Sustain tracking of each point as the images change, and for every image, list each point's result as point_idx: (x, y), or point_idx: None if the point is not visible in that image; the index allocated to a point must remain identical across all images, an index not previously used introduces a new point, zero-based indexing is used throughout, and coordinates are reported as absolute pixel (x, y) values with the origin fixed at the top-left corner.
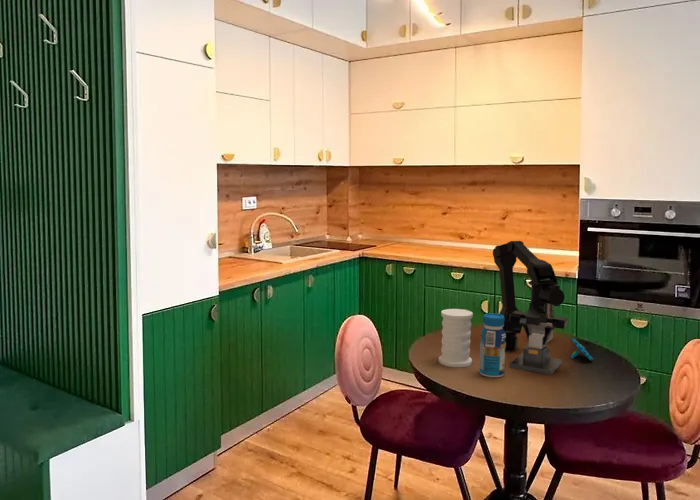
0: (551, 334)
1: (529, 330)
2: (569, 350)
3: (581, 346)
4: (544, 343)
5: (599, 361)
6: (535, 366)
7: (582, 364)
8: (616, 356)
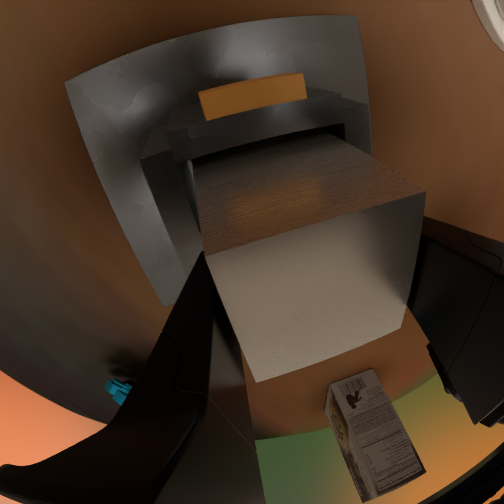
0: (330, 419)
1: (464, 287)
2: None
3: None
4: (202, 259)
5: None
6: (190, 62)
7: (110, 342)
8: None
